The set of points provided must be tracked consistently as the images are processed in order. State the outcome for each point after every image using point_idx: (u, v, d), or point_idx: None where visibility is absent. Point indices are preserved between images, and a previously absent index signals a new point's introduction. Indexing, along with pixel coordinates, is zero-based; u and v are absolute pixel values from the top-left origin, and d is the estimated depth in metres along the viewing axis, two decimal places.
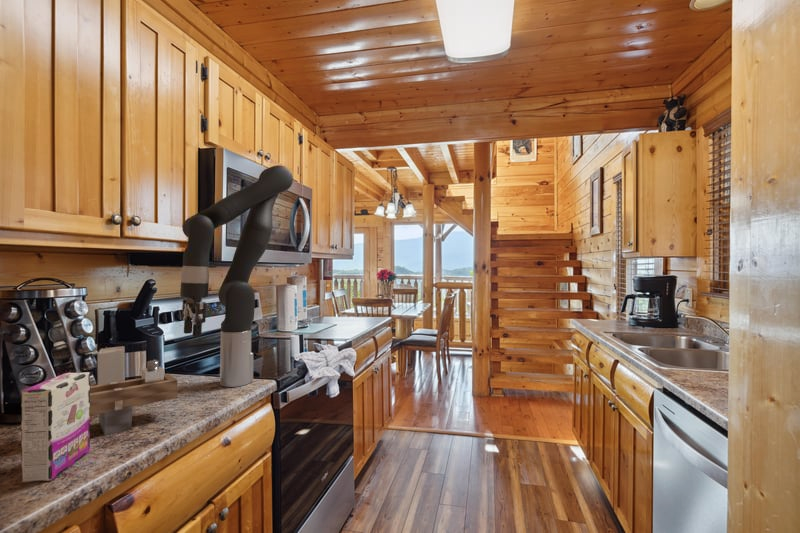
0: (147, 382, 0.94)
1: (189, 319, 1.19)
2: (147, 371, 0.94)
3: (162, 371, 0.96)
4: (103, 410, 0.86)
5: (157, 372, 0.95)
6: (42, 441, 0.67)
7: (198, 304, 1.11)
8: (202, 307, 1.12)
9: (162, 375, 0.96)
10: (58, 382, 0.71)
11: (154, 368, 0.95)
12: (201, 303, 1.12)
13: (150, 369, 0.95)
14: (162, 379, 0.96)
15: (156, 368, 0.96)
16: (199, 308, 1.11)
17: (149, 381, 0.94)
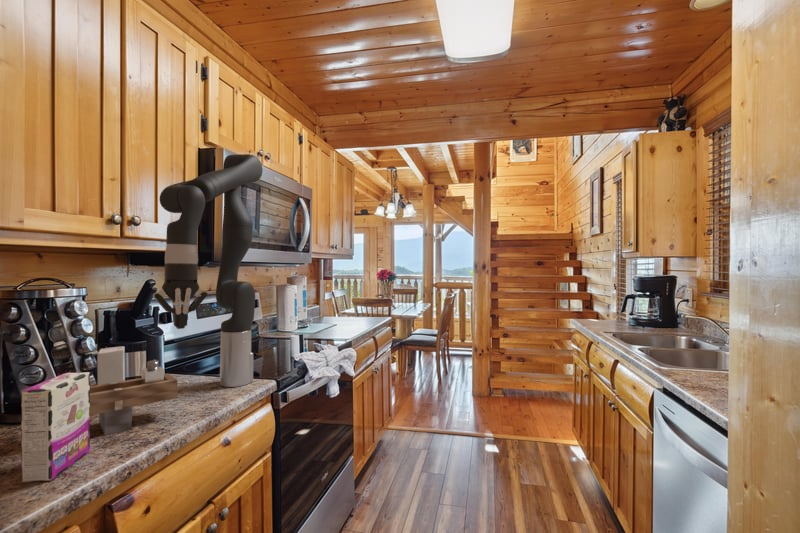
0: (147, 382, 0.94)
1: None
2: (147, 371, 0.94)
3: (162, 371, 0.96)
4: (103, 410, 0.86)
5: (157, 372, 0.95)
6: (42, 441, 0.67)
7: None
8: None
9: (162, 375, 0.96)
10: (58, 382, 0.71)
11: (154, 368, 0.95)
12: None
13: (150, 369, 0.95)
14: (162, 379, 0.96)
15: (156, 368, 0.96)
16: None
17: (149, 381, 0.94)
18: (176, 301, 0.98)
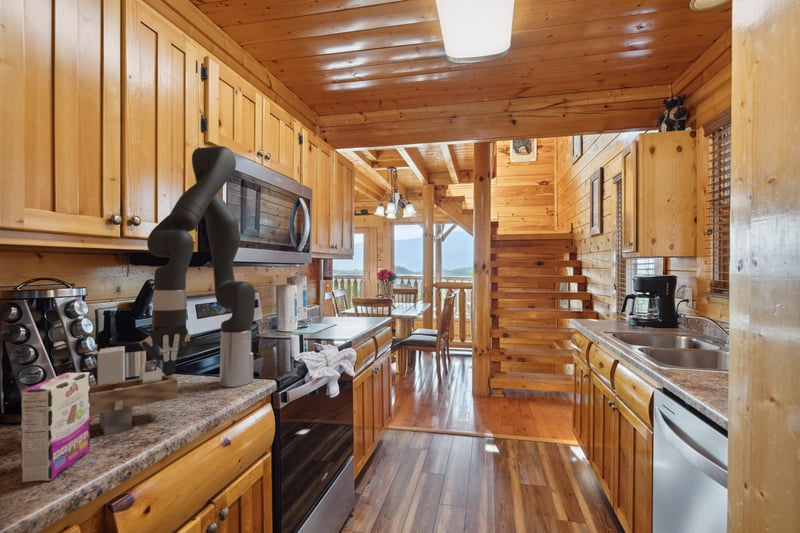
0: (145, 382, 0.93)
1: None
2: (145, 371, 0.94)
3: (160, 371, 0.96)
4: (103, 410, 0.86)
5: (155, 372, 0.95)
6: (42, 441, 0.67)
7: None
8: None
9: (160, 375, 0.96)
10: (58, 382, 0.71)
11: (152, 368, 0.95)
12: None
13: (148, 369, 0.95)
14: (160, 379, 0.96)
15: (154, 368, 0.96)
16: None
17: (147, 381, 0.94)
18: (164, 348, 0.96)
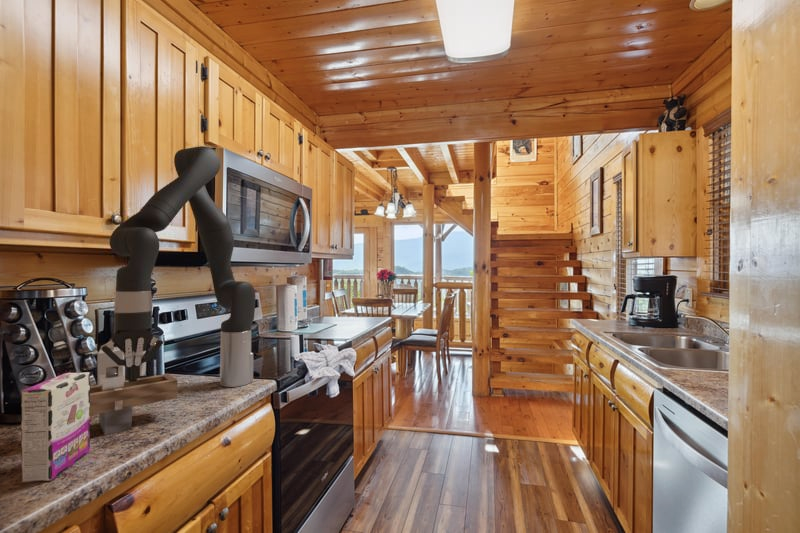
0: (105, 389, 0.88)
1: None
2: (105, 377, 0.89)
3: (122, 377, 0.90)
4: (103, 410, 0.86)
5: (116, 378, 0.89)
6: (42, 441, 0.67)
7: None
8: None
9: (122, 382, 0.90)
10: (58, 382, 0.71)
11: (113, 374, 0.90)
12: None
13: (108, 375, 0.89)
14: (122, 386, 0.90)
15: (115, 374, 0.90)
16: None
17: (107, 388, 0.88)
18: (126, 353, 0.91)
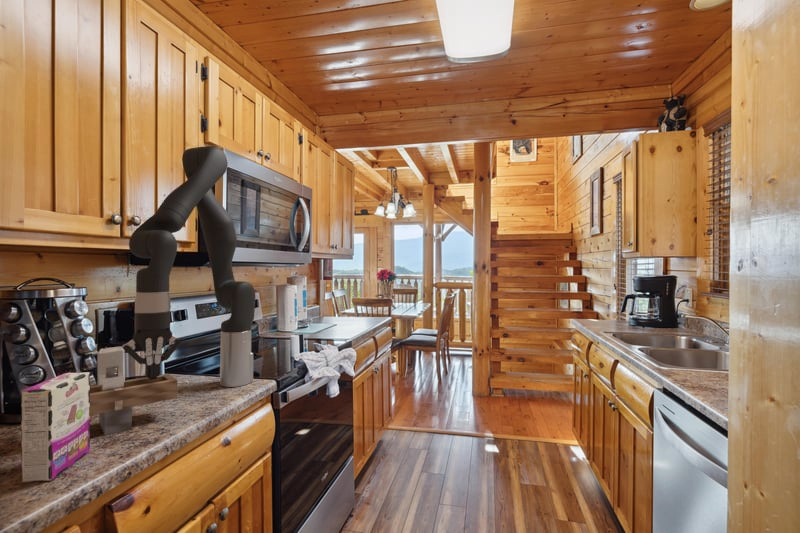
0: (105, 389, 0.88)
1: None
2: (105, 377, 0.89)
3: (122, 377, 0.90)
4: (103, 410, 0.86)
5: (116, 378, 0.89)
6: (42, 441, 0.67)
7: None
8: None
9: (122, 382, 0.90)
10: (58, 382, 0.71)
11: (113, 374, 0.90)
12: None
13: (108, 375, 0.89)
14: (122, 386, 0.90)
15: (115, 374, 0.90)
16: None
17: (107, 388, 0.88)
18: (147, 352, 0.94)
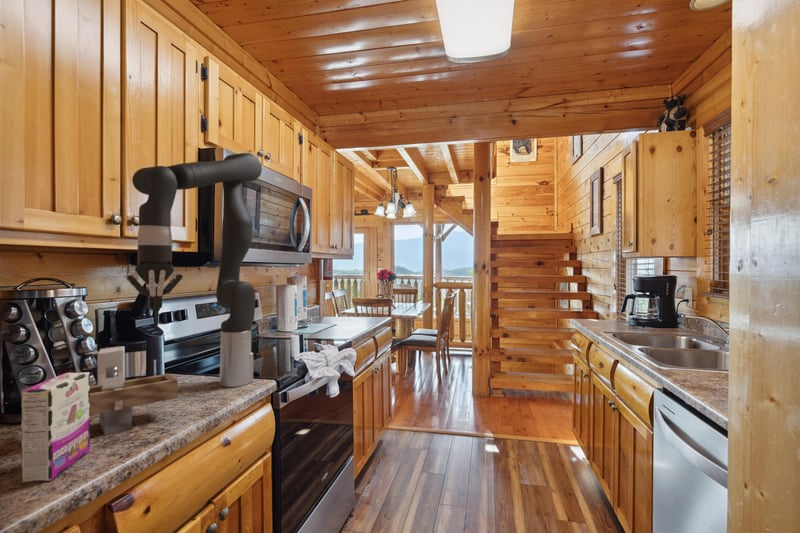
0: (105, 389, 0.88)
1: None
2: (105, 377, 0.89)
3: (122, 377, 0.90)
4: (103, 410, 0.86)
5: (116, 378, 0.89)
6: (42, 441, 0.67)
7: None
8: None
9: (122, 382, 0.90)
10: (58, 382, 0.71)
11: (113, 374, 0.90)
12: None
13: (108, 375, 0.89)
14: (122, 386, 0.90)
15: (115, 374, 0.90)
16: None
17: (107, 388, 0.88)
18: (150, 283, 0.98)
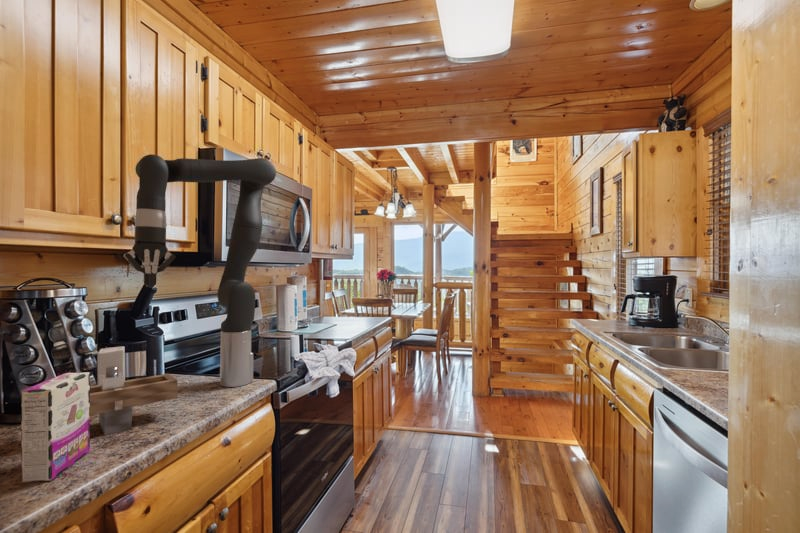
0: (105, 389, 0.88)
1: None
2: (105, 377, 0.89)
3: (122, 377, 0.90)
4: (103, 410, 0.86)
5: (116, 378, 0.89)
6: (42, 441, 0.67)
7: (174, 258, 1.14)
8: None
9: (122, 382, 0.90)
10: (58, 382, 0.71)
11: (113, 374, 0.90)
12: (174, 256, 1.14)
13: (108, 375, 0.89)
14: (122, 386, 0.90)
15: (115, 374, 0.90)
16: None
17: (107, 388, 0.88)
18: (145, 261, 1.08)
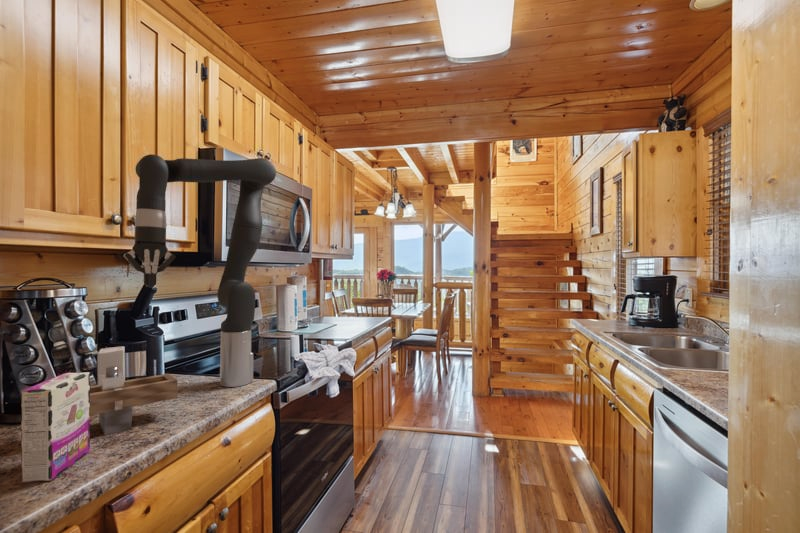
0: (105, 389, 0.88)
1: None
2: (105, 377, 0.89)
3: (122, 377, 0.90)
4: (103, 410, 0.86)
5: (116, 378, 0.89)
6: (42, 441, 0.67)
7: (174, 258, 1.14)
8: None
9: (122, 382, 0.90)
10: (58, 382, 0.71)
11: (113, 374, 0.90)
12: (174, 256, 1.14)
13: (108, 375, 0.89)
14: (122, 386, 0.90)
15: (115, 374, 0.90)
16: None
17: (107, 388, 0.88)
18: (145, 261, 1.08)
